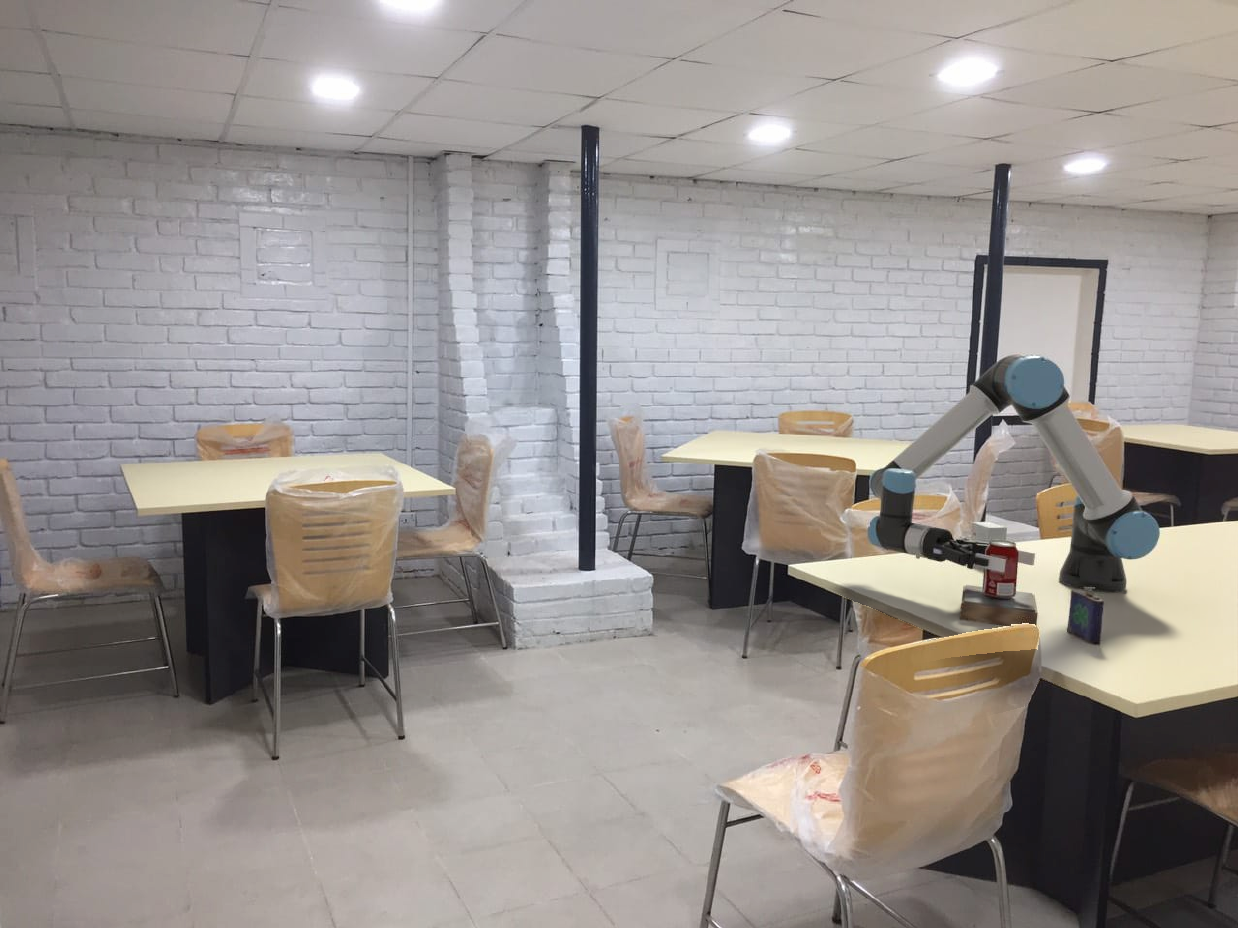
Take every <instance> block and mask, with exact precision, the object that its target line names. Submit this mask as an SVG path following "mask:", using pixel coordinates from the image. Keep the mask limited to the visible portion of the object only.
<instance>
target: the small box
mask: <svg viewBox="0 0 1238 928" xmlns="http://www.w3.org/2000/svg"><path fill="white" fill-rule="evenodd" d="M970 530H971V531H970V540H974V541H980V542H988V543H989V541H990V540H1006V541H1007V531H1008V528H1007V526H1003V525H1001V524H1000V525H999V524H996V523H993V522H990V521H972V522H971V529H970ZM970 552H971V551H970Z"/></svg>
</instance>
